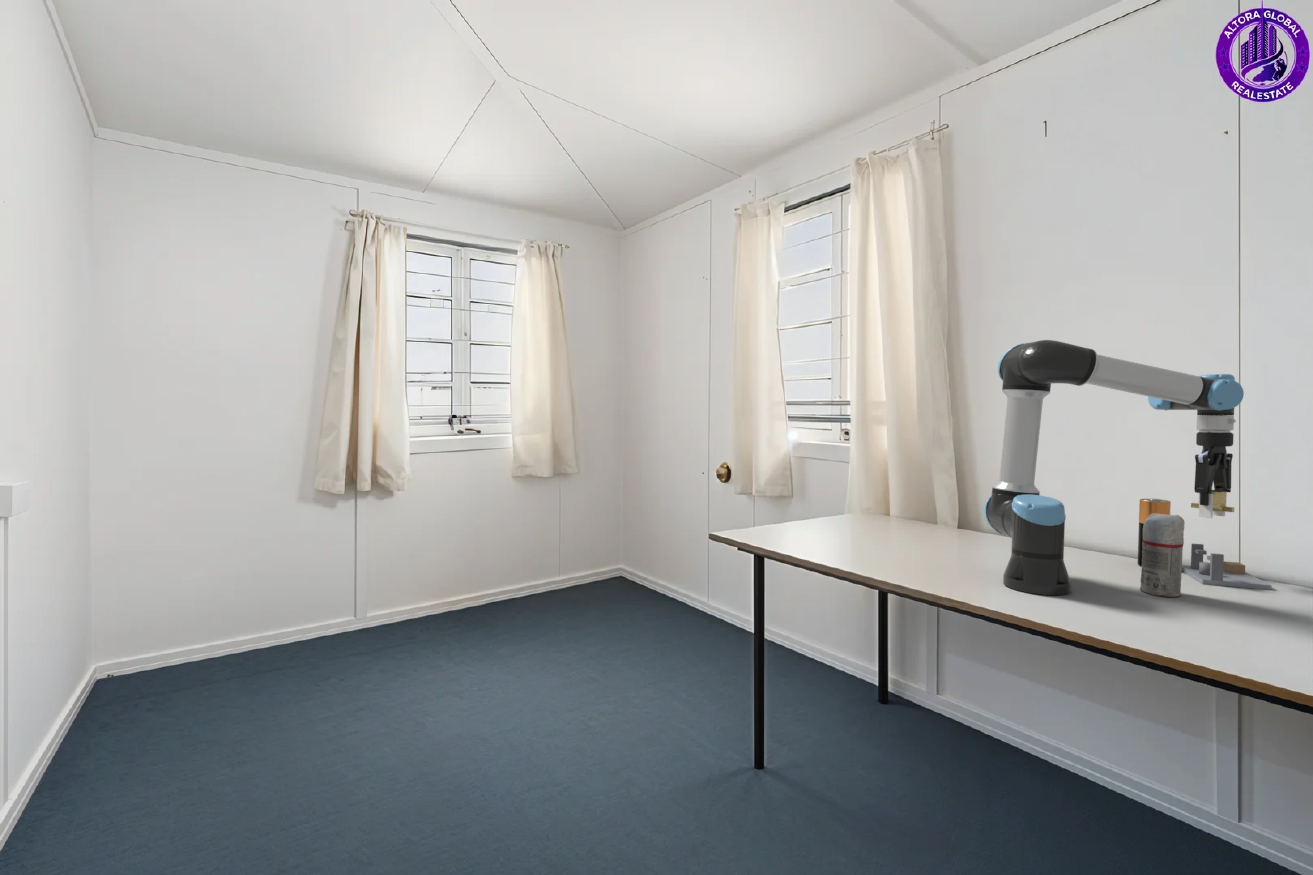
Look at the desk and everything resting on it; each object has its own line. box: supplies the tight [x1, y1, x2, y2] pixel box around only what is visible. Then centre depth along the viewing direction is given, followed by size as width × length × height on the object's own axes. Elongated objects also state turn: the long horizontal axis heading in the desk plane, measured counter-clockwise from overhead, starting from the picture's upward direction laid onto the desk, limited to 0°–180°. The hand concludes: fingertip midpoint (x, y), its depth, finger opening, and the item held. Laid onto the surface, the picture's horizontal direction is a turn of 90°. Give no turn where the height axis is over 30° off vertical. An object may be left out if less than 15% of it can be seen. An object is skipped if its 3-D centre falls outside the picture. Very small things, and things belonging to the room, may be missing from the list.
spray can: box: [1139, 513, 1185, 598], centre depth 158 cm, size 8×8×20 cm
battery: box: [1137, 497, 1172, 567], centre depth 184 cm, size 7×7×20 cm
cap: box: [1190, 489, 1235, 513], centre depth 171 cm, size 9×6×5 cm, turn 24°
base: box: [1181, 543, 1272, 591], centre depth 171 cm, size 14×17×8 cm
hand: (1211, 516), depth 171 cm, fingers closed on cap, 5 cm apart
